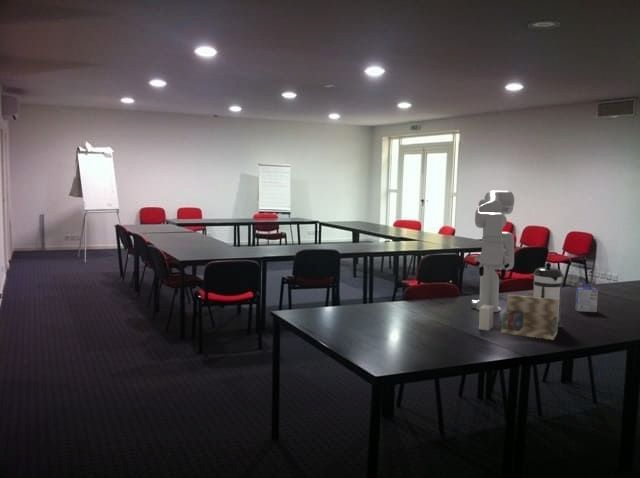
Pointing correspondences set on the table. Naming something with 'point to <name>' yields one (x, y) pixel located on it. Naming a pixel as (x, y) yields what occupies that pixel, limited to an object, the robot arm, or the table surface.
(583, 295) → the ink cartridge box
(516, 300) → the bookshelf
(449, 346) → the table surface
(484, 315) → the boxed book
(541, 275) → the coffee press
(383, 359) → the table surface
